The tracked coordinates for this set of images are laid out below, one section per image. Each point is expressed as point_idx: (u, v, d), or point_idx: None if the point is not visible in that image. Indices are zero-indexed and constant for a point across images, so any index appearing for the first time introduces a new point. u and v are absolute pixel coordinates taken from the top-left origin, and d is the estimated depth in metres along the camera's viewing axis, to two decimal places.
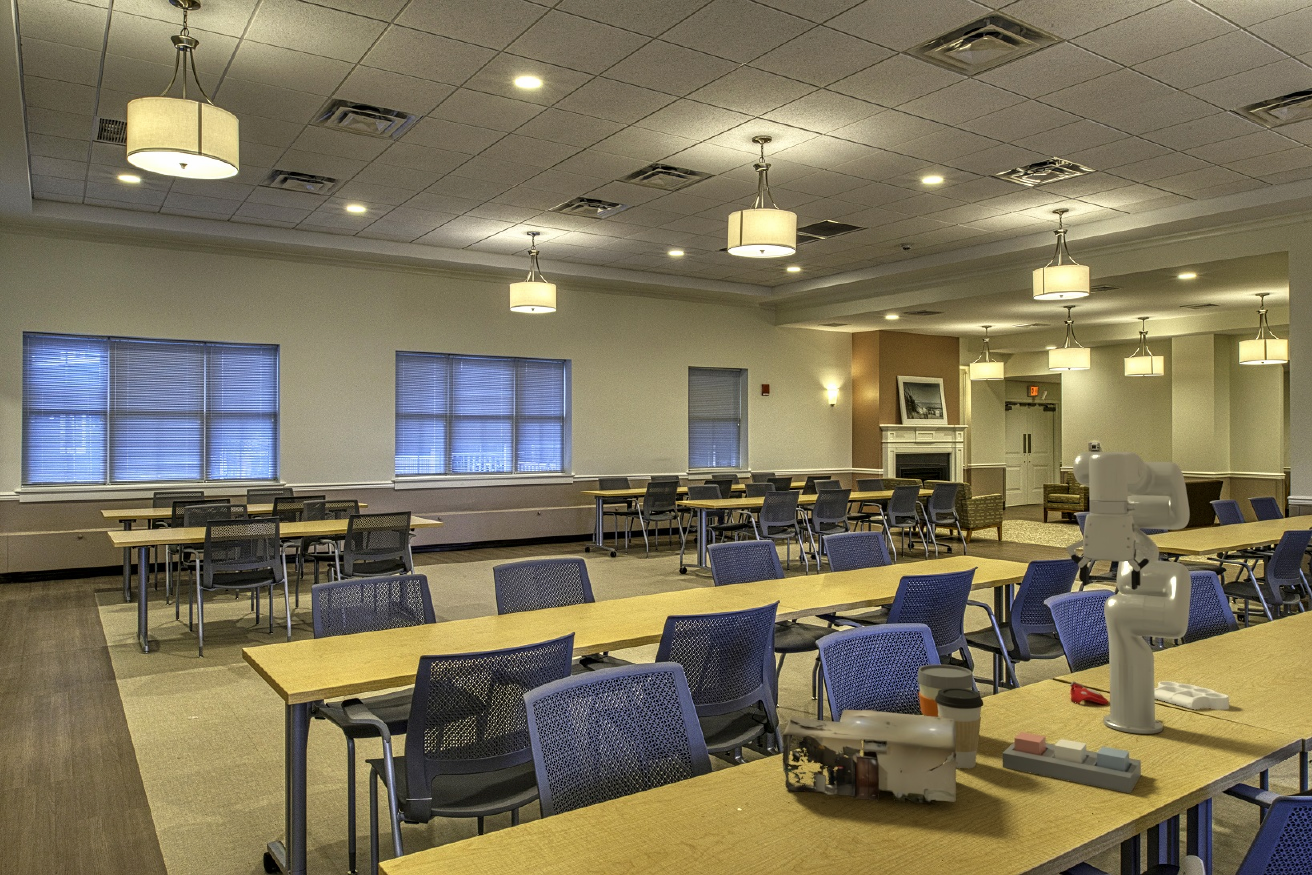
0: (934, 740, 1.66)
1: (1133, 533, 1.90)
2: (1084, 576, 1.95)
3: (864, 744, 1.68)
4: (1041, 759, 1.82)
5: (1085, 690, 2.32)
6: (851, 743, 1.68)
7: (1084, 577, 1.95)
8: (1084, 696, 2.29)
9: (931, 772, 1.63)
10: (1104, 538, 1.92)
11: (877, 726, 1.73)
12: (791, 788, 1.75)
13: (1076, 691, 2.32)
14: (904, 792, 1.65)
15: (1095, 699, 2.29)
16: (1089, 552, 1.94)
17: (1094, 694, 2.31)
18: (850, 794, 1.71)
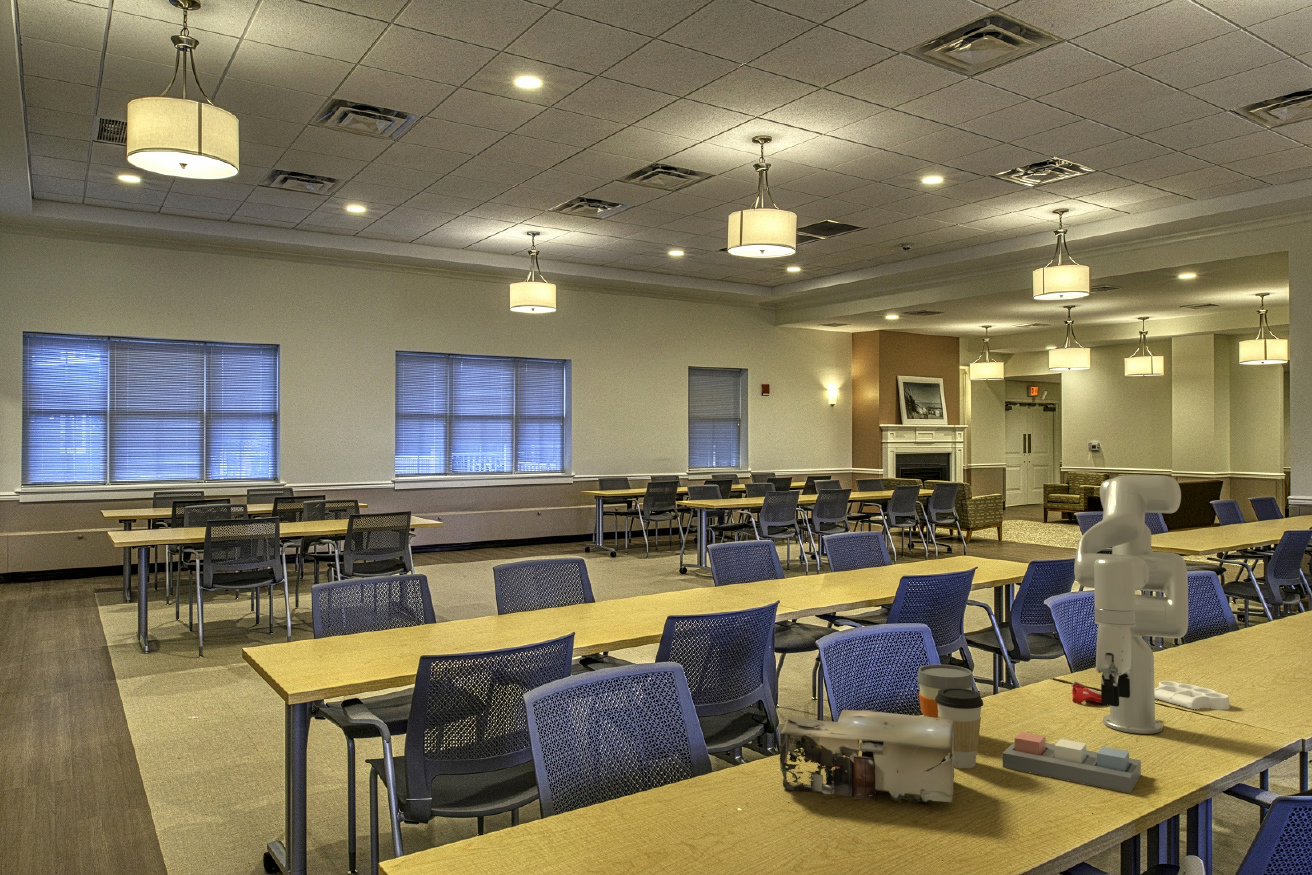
0: (930, 741, 1.65)
1: None
2: None
3: (861, 744, 1.68)
4: (1041, 759, 1.82)
5: (1087, 690, 2.32)
6: (847, 743, 1.68)
7: None
8: (1086, 696, 2.29)
9: (927, 772, 1.63)
10: (1127, 650, 1.81)
11: (874, 726, 1.73)
12: (788, 787, 1.75)
13: (1078, 691, 2.32)
14: (901, 792, 1.65)
15: (1097, 699, 2.29)
16: (1122, 668, 1.79)
17: (1096, 694, 2.31)
18: (847, 794, 1.72)
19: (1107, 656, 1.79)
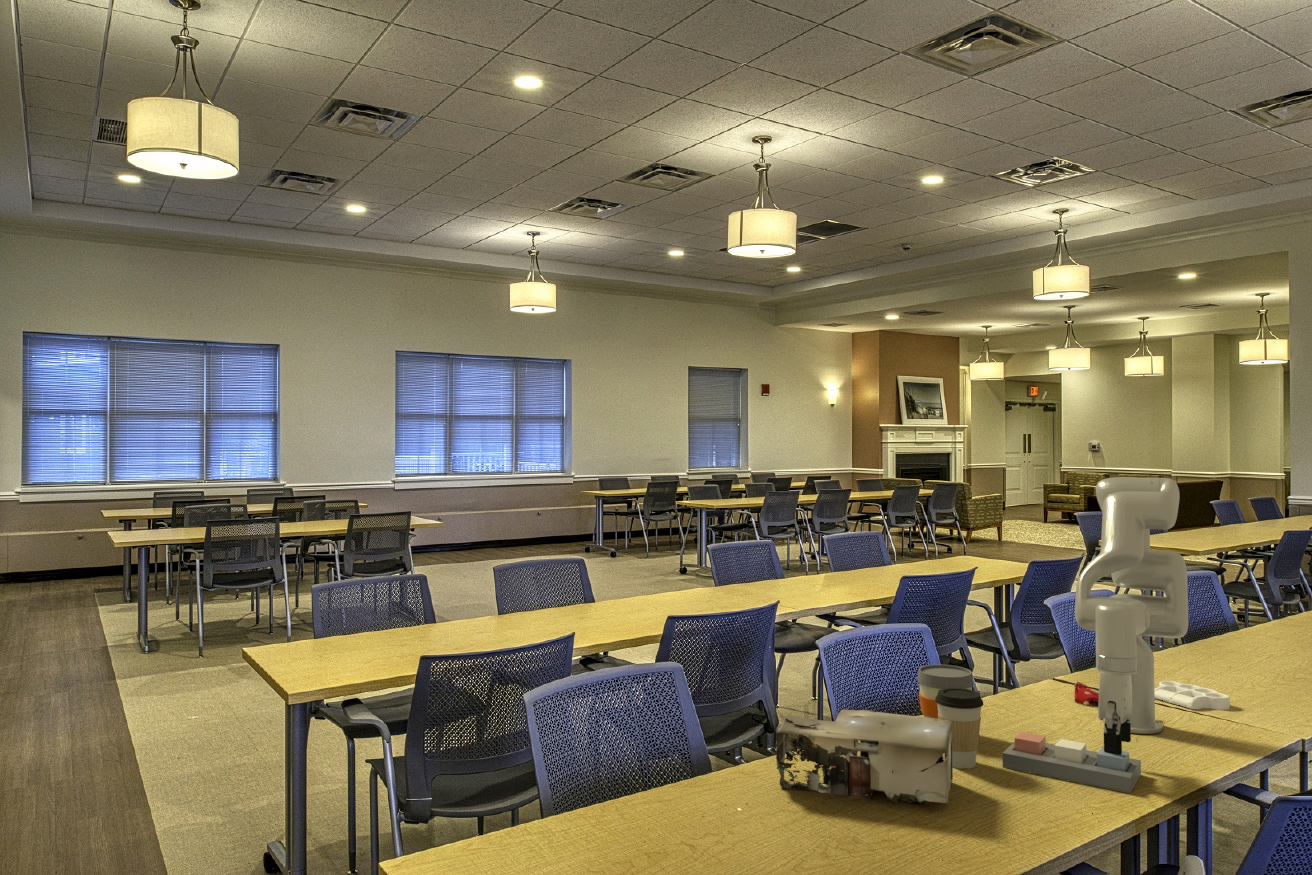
0: (926, 741, 1.65)
1: None
2: None
3: (856, 744, 1.68)
4: (1041, 759, 1.82)
5: (1089, 690, 2.32)
6: (843, 743, 1.68)
7: None
8: (1088, 696, 2.29)
9: (922, 773, 1.63)
10: (1129, 696, 1.80)
11: (871, 726, 1.74)
12: (785, 786, 1.76)
13: (1080, 691, 2.32)
14: (896, 792, 1.65)
15: None
16: (1125, 716, 1.78)
17: (1098, 694, 2.31)
18: (843, 793, 1.72)
19: (1110, 704, 1.78)
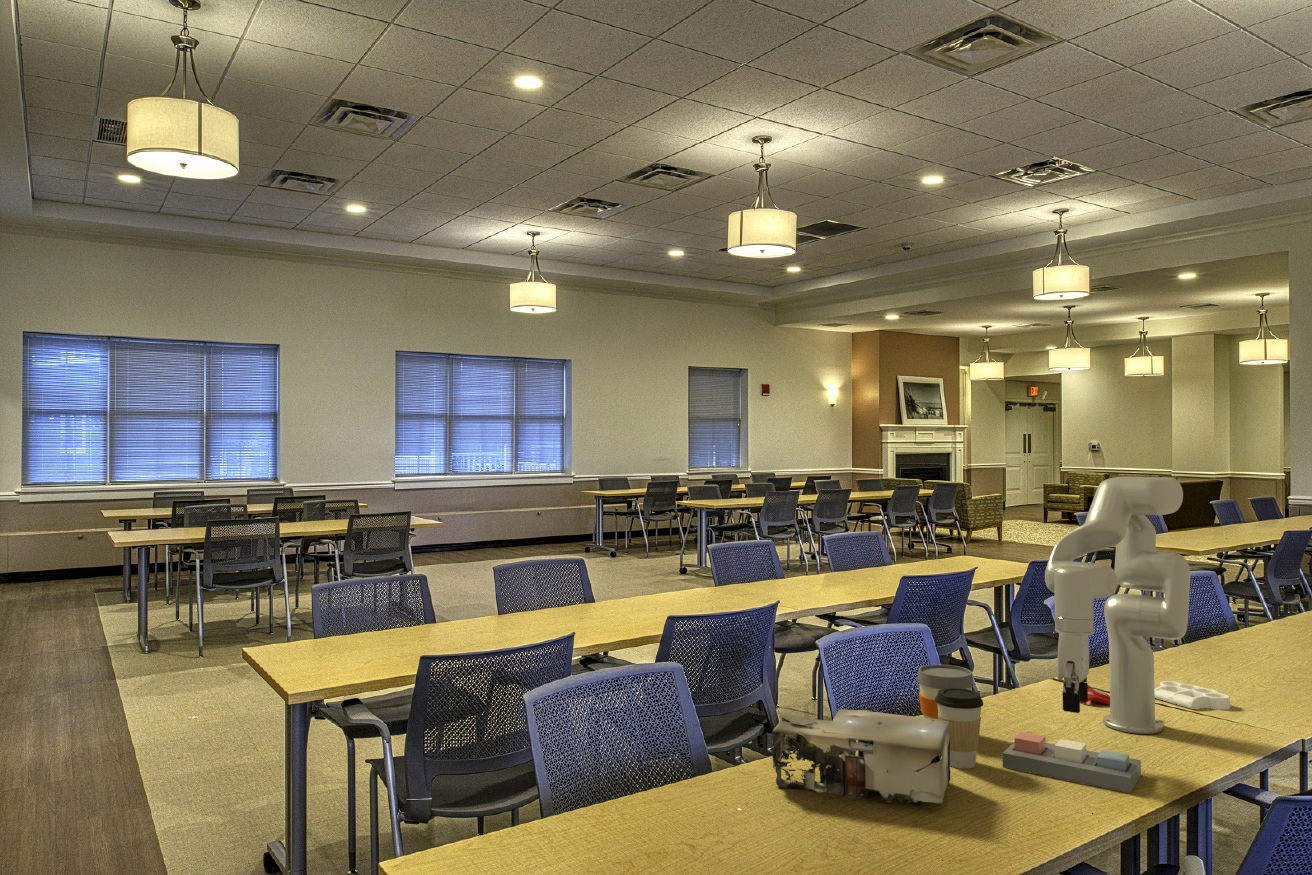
0: (921, 741, 1.65)
1: None
2: None
3: (851, 743, 1.69)
4: (1041, 759, 1.82)
5: (1091, 690, 2.32)
6: (838, 742, 1.69)
7: None
8: (1090, 696, 2.29)
9: (917, 773, 1.63)
10: (1087, 656, 1.85)
11: (867, 726, 1.74)
12: (782, 785, 1.77)
13: None
14: (890, 792, 1.65)
15: (1101, 699, 2.29)
16: (1082, 675, 1.83)
17: (1100, 694, 2.30)
18: (839, 793, 1.72)
19: (1068, 664, 1.83)
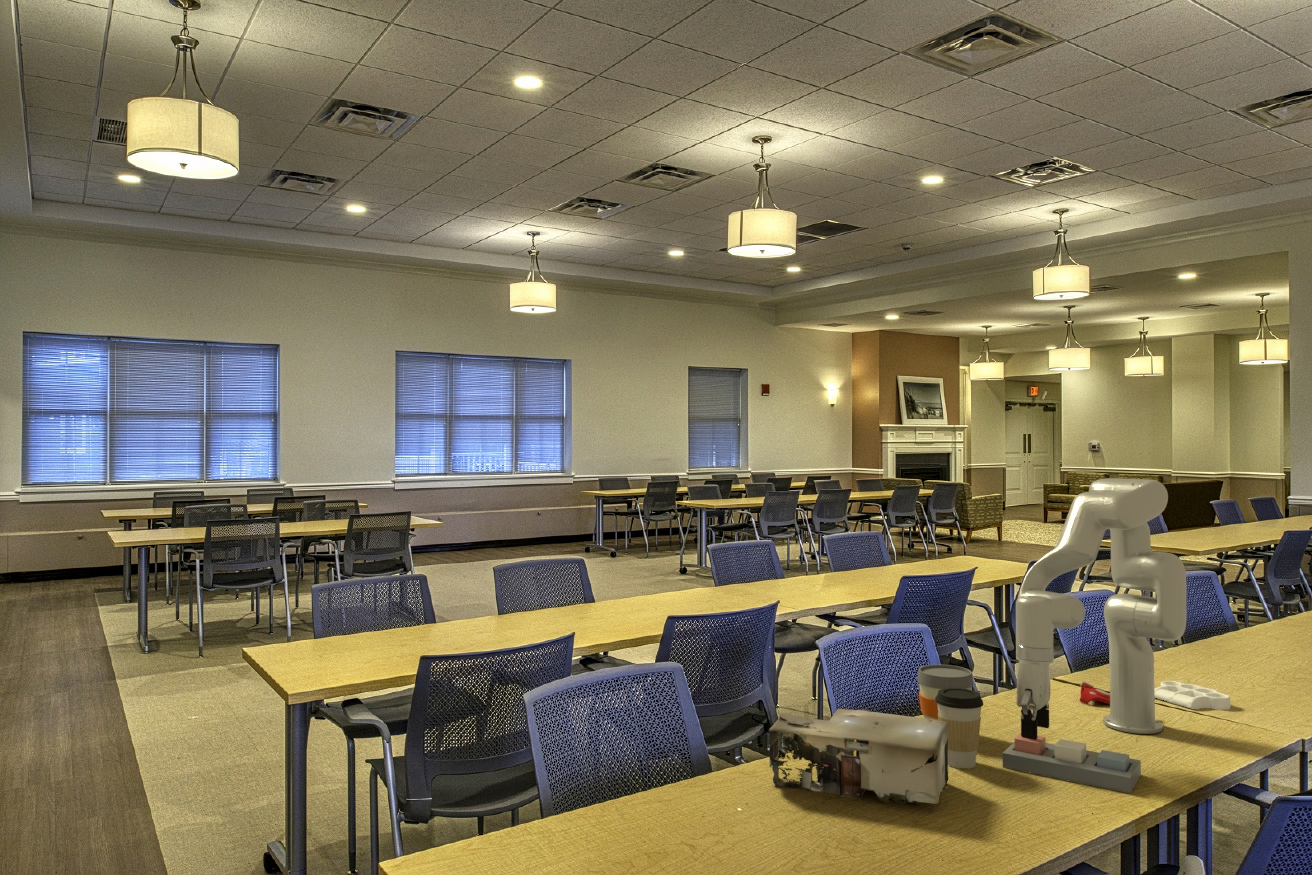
0: (916, 741, 1.65)
1: None
2: None
3: (847, 743, 1.69)
4: (1041, 759, 1.82)
5: (1094, 690, 2.32)
6: (834, 741, 1.69)
7: None
8: (1092, 696, 2.29)
9: (912, 773, 1.63)
10: (1046, 684, 1.90)
11: (864, 726, 1.74)
12: (779, 784, 1.77)
13: (1085, 691, 2.31)
14: (886, 792, 1.65)
15: (1104, 699, 2.28)
16: (1040, 702, 1.88)
17: (1103, 694, 2.30)
18: (835, 792, 1.73)
19: (1026, 692, 1.88)
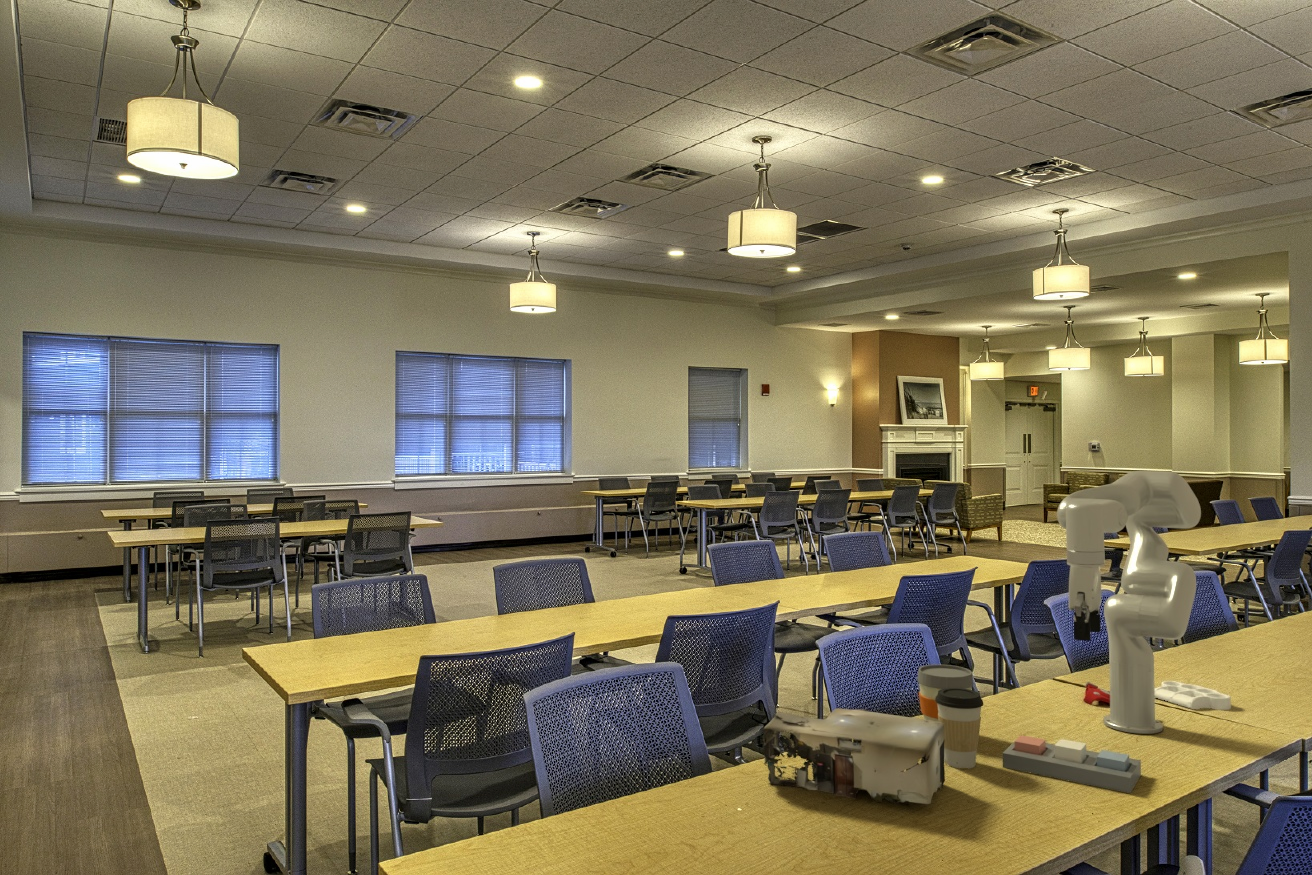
0: (909, 742, 1.65)
1: None
2: None
3: (840, 742, 1.69)
4: (1041, 759, 1.82)
5: (1098, 690, 2.32)
6: (827, 740, 1.70)
7: None
8: (1096, 696, 2.29)
9: (904, 773, 1.63)
10: (1098, 588, 1.92)
11: (859, 725, 1.74)
12: (774, 782, 1.79)
13: (1088, 691, 2.31)
14: (878, 792, 1.66)
15: (1107, 700, 2.28)
16: (1093, 605, 1.90)
17: (1107, 695, 2.30)
18: (830, 791, 1.73)
19: (1079, 595, 1.90)
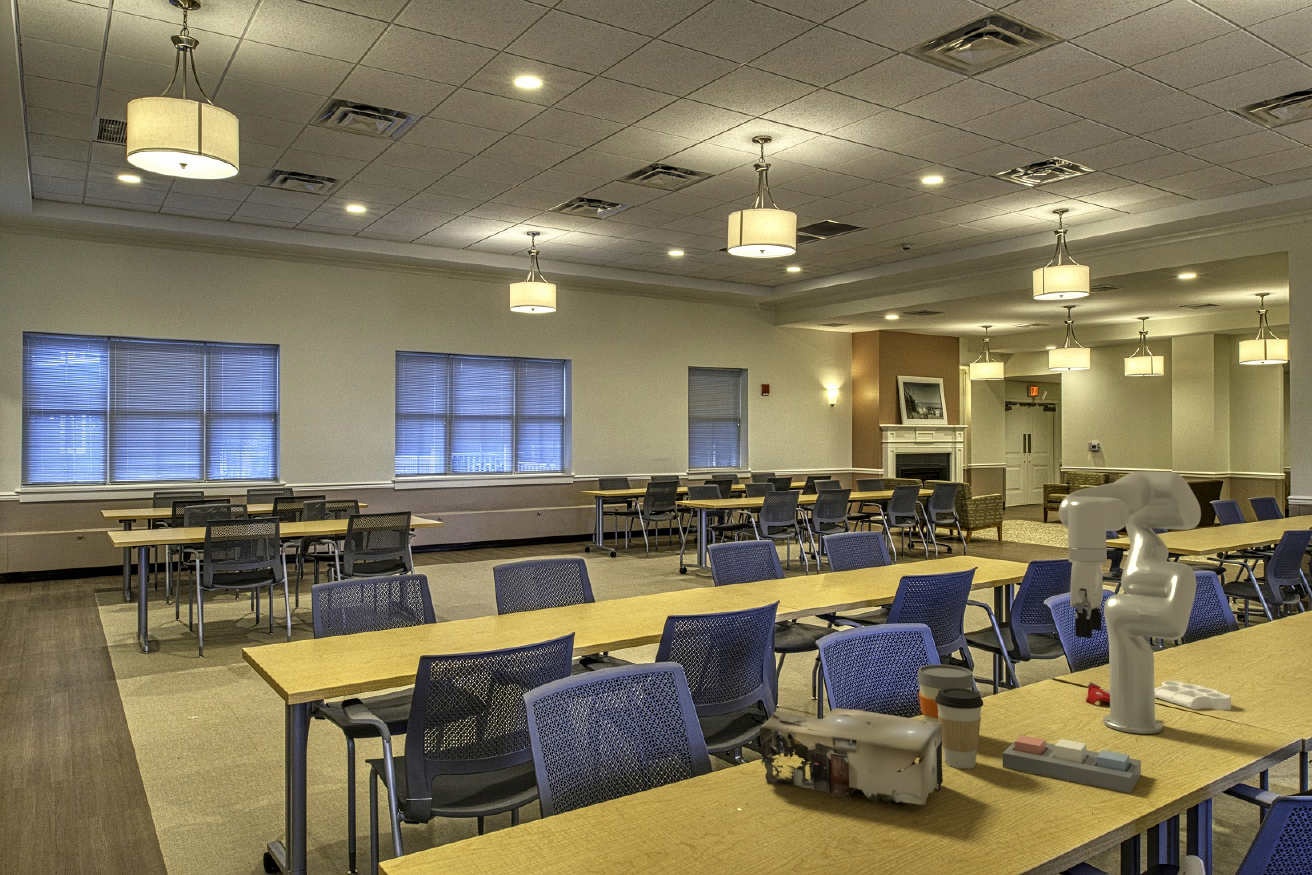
0: (904, 742, 1.65)
1: None
2: None
3: (836, 742, 1.70)
4: (1041, 759, 1.82)
5: (1101, 691, 2.32)
6: (822, 740, 1.70)
7: None
8: (1099, 697, 2.29)
9: (898, 773, 1.63)
10: (1099, 585, 1.92)
11: (855, 725, 1.74)
12: (771, 781, 1.79)
13: (1091, 691, 2.31)
14: (873, 792, 1.66)
15: None
16: (1095, 602, 1.90)
17: (1109, 695, 2.30)
18: (826, 790, 1.74)
19: (1081, 591, 1.90)
